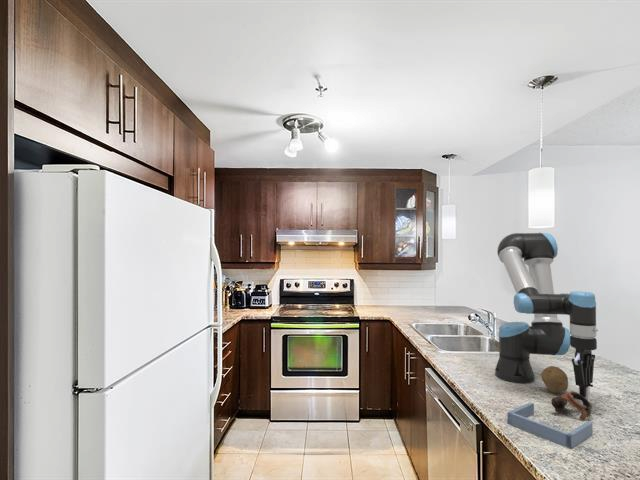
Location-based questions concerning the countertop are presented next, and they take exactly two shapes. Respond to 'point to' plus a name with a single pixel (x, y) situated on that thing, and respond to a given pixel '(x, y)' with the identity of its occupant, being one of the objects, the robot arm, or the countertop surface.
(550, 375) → the natural sponge
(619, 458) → the countertop surface
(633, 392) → the countertop surface
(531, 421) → the blue-grey u-shaped frame
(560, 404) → the brown curved ring piece
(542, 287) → the robot arm
